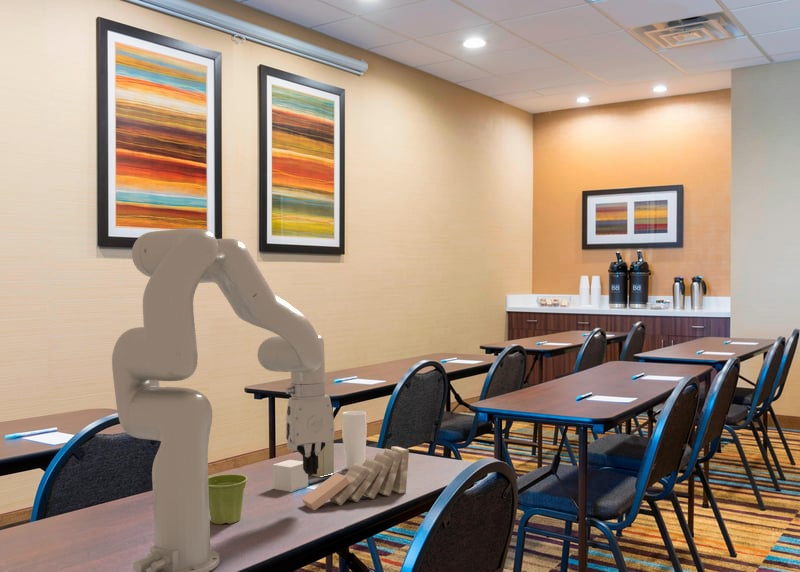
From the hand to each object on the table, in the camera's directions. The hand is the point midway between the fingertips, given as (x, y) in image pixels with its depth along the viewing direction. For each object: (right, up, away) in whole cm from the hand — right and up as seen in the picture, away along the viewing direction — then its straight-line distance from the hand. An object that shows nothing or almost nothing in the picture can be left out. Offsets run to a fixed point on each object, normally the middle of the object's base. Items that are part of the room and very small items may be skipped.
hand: (310, 473), depth 168 cm
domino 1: (-1, -7, 0) cm, 7 cm away
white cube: (-7, -8, +18) cm, 21 cm away
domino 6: (+19, -7, +12) cm, 23 cm away
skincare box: (-1, -8, +30) cm, 31 cm away
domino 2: (+5, -7, +3) cm, 9 cm away
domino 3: (+8, -7, +5) cm, 12 cm away
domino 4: (+12, -7, +7) cm, 15 cm away
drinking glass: (+8, -8, +35) cm, 37 cm away
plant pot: (-17, -8, -7) cm, 20 cm away
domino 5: (+15, -7, +9) cm, 19 cm away
